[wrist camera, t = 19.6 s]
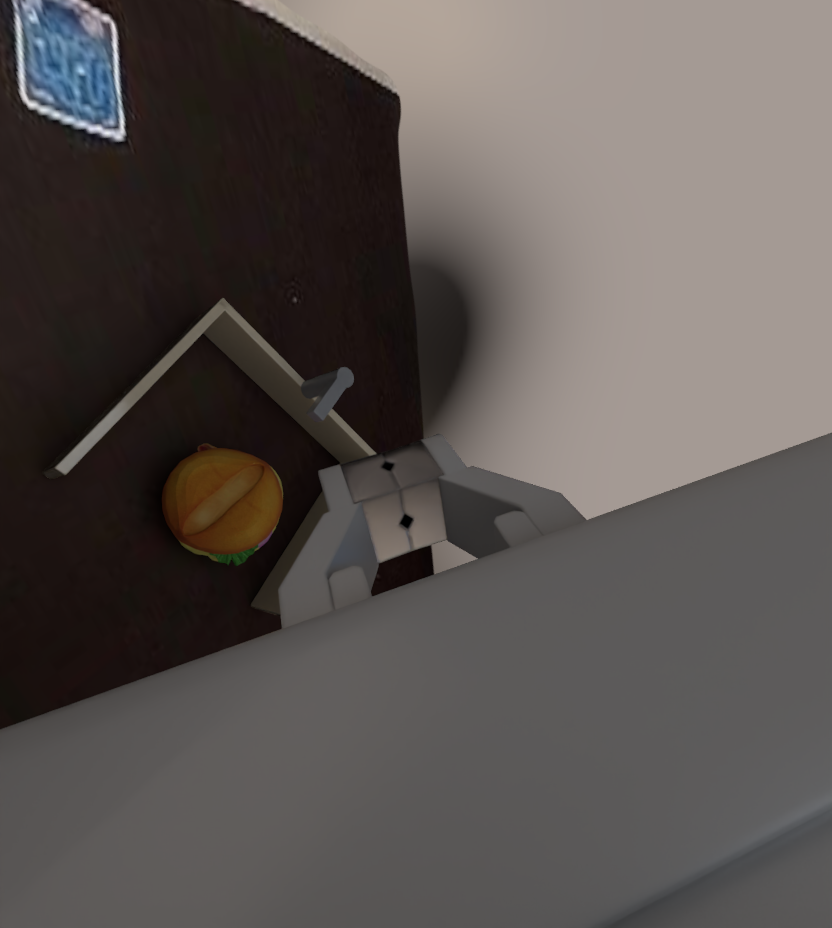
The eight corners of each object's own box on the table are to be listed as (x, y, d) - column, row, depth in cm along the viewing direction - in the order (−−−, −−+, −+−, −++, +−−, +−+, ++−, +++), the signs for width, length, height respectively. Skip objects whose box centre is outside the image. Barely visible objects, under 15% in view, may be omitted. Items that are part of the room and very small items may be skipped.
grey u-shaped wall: (256, 609, 48) (324, 629, 39) (41, 473, 37) (71, 460, 28) (349, 458, 57) (421, 448, 49) (200, 314, 46) (259, 268, 38)
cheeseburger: (262, 568, 48) (290, 576, 40) (143, 550, 44) (146, 554, 35) (284, 470, 51) (315, 458, 42) (173, 443, 46) (183, 422, 37)
